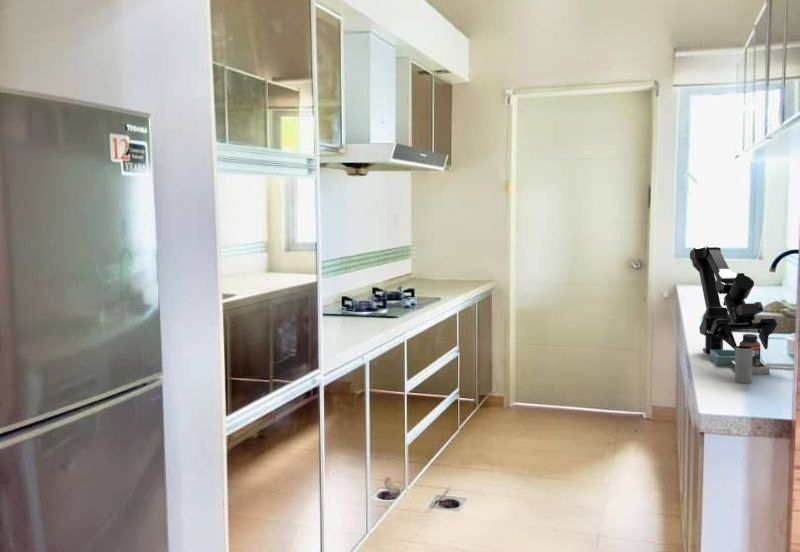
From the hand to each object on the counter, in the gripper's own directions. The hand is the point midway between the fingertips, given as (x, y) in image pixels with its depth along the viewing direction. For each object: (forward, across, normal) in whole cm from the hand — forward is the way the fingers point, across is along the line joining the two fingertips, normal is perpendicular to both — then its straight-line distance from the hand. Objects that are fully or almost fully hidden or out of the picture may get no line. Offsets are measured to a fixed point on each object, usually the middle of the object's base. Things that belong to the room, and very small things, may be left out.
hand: (751, 349), depth 229 cm
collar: (+4, 0, +6) cm, 7 cm away
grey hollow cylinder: (+14, -8, -4) cm, 16 cm away
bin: (-4, 0, +14) cm, 15 cm away
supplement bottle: (+4, 0, +6) cm, 7 cm away
